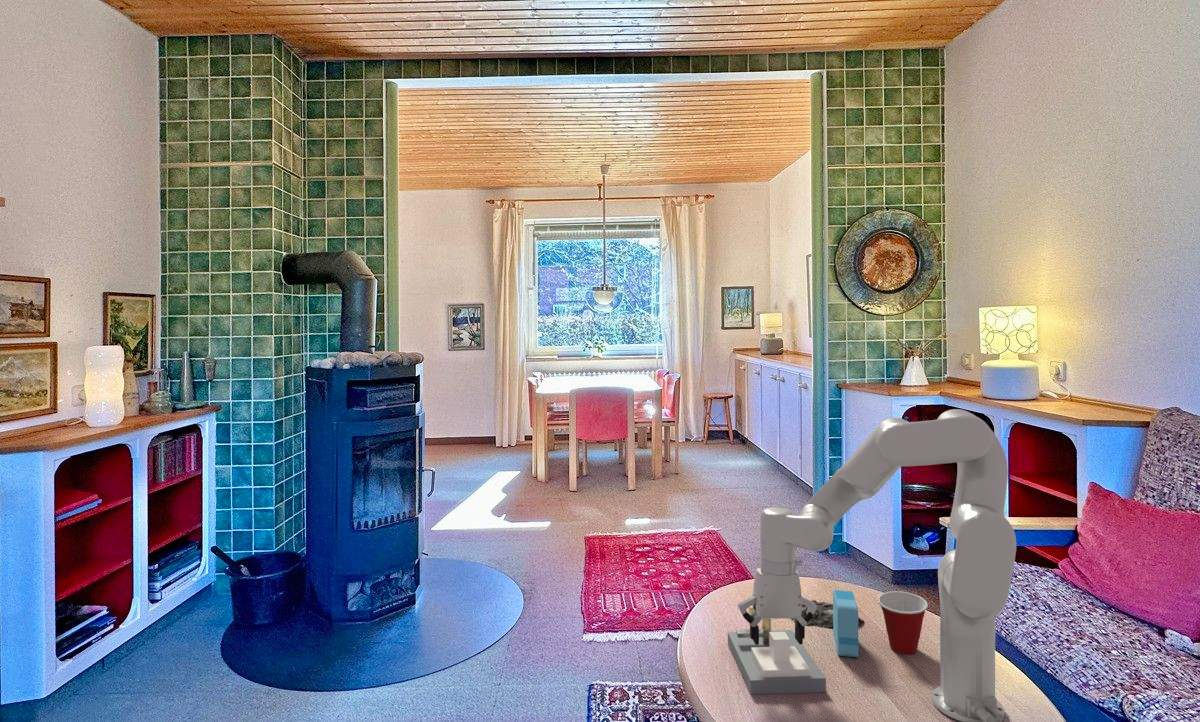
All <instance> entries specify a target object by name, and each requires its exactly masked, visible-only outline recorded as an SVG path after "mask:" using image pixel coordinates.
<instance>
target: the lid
mask: <svg viewBox="0 0 1200 722" xmlns="http://www.w3.org/2000/svg"><path fill="white" fill-rule="evenodd" d="M751 654H752V656H753V658H754V660H755V662H756V664H757V666H758V668H759V670H760V672H761V674H762V676H763V677H796V676H810V668H809V667H808V665H807V664H806V662H805V661H804V659H803V658H802V656H801V655H800V654H799V652H798V651H797V649H796V648H795V646H790V639H789V637H788V636H787V634H786V633H785V632H769V647H752V648H751Z"/></svg>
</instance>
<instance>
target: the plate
mask: <svg viewBox="0 0 1200 722" xmlns="http://www.w3.org/2000/svg"><path fill="white" fill-rule="evenodd" d="M771 632H785V633H786V634H787V636H788V637H789V639H790V646H795V648H796V649H797V651H798V652H799V654H800V655H801V656H802V658H803V659H804V661H805V662H806V664H807V665H808V667H809V668H810V676H796V677H763V676H762V674H761V672H760V670H759V668H758V666H757V664H756V662H755V660H754V658H753V656H752V654H751V648H752V647H769V644H765V643H763V642H762V637H759V644H758V645H755V643H754V641H753V639H751V638H738V637H737V634H736V631H727V645H728V648H729V650H730V652H731V654H732V656H733V658H734V661H735V663H736V665H737V667H738V669H739V671H740V674H741V676H742V678H743V680H744V682H745V684H746V687H747V690H748V691H749V694H750V695H773V694H776V695H777V694H804V693H805V694H807V693H808V694H809V693H826V692H827V679H826V676H825V675H824V674H823V672H822V670H821V669H820V668H819V666H818V665H817V664H816V662H815V661H814V659H813V657H811V655H810V653H809V652H808V651H807V650H806V648H805V646H804V645H803V644H799V643H798V642H797V640H796V639H795V631H793V630H792V629H787V630H785V629H784V630H771Z"/></svg>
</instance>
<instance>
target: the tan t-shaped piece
mask: <svg viewBox="0 0 1200 722" xmlns="http://www.w3.org/2000/svg"><path fill="white" fill-rule="evenodd" d="M747 609H748V613H749V614H750V615H751V614H752V613H753V611H754V609H753V607H752V606H750V607H748V608H747ZM761 626H762V627H761V628H759V637H762V642H763V643H765V644H769V632H771V631H772V619H764V618H762V620H761ZM735 632H736V634H737V637H738V638H750V628H749V629H736V630H735Z"/></svg>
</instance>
